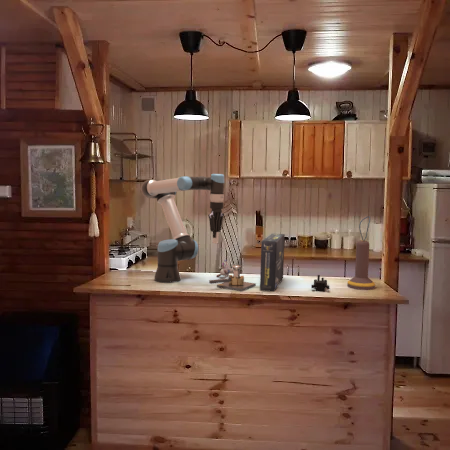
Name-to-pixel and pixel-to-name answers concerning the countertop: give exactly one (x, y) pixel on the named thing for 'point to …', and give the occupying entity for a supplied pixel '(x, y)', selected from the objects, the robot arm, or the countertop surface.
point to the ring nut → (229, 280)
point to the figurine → (225, 270)
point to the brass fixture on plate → (236, 287)
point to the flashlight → (362, 266)
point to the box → (272, 262)
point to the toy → (320, 284)
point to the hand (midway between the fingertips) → (215, 243)
